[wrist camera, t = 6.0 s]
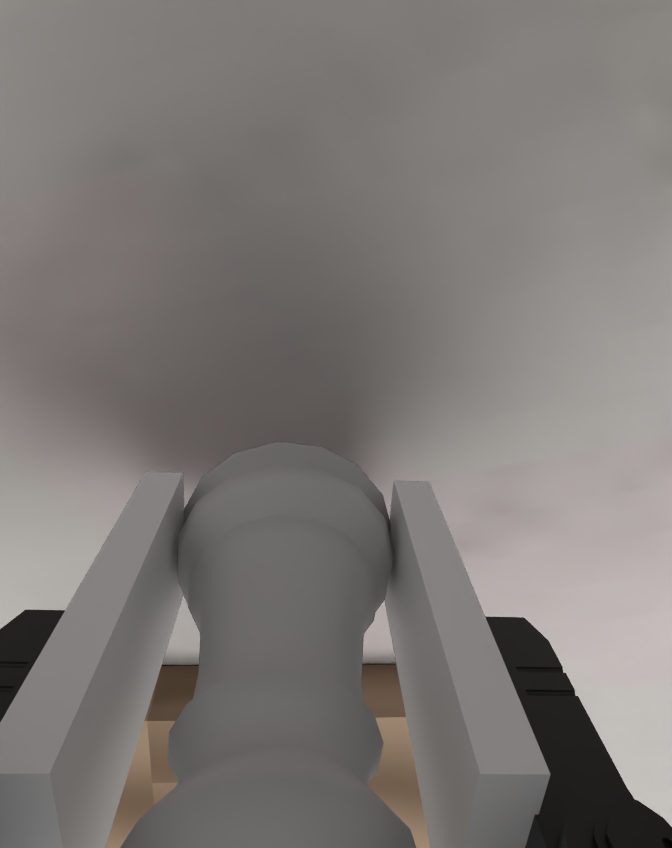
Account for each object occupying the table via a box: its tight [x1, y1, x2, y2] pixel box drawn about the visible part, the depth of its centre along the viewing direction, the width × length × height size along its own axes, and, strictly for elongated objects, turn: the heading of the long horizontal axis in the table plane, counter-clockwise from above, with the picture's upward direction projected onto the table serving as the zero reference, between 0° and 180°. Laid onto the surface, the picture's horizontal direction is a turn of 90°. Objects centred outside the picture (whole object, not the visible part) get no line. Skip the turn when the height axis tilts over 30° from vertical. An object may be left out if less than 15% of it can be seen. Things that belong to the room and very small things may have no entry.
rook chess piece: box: [120, 442, 416, 848], centre depth 9 cm, size 4×4×8 cm
